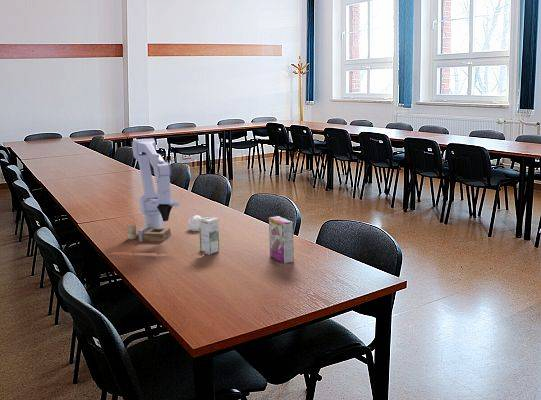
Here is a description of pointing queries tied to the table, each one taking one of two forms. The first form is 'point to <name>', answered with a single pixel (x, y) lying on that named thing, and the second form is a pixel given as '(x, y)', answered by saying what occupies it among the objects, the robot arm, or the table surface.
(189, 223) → the motion sensor
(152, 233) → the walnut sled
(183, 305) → the table surface
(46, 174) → the table surface
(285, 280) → the table surface
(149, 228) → the backstop board
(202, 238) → the syrup box
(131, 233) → the birch dowel
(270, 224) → the candy bar box
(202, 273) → the table surface
